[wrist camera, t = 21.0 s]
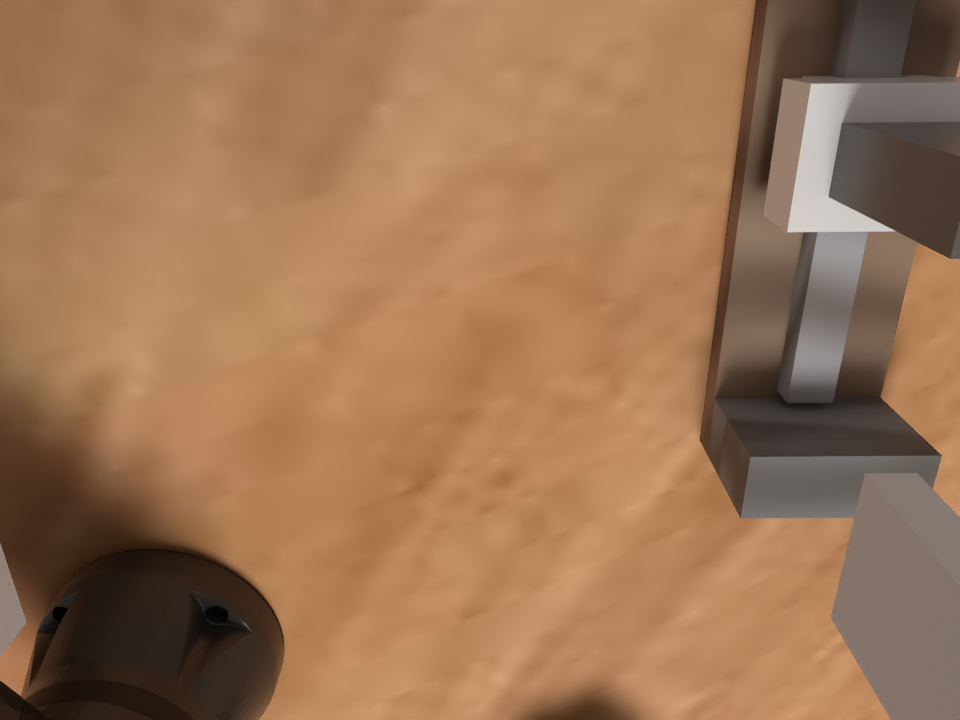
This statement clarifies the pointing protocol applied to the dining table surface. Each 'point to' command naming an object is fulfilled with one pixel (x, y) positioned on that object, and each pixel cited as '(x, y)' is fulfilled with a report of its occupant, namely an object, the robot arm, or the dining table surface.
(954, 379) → the dining table surface
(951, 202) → the carriage
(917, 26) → the rail base
